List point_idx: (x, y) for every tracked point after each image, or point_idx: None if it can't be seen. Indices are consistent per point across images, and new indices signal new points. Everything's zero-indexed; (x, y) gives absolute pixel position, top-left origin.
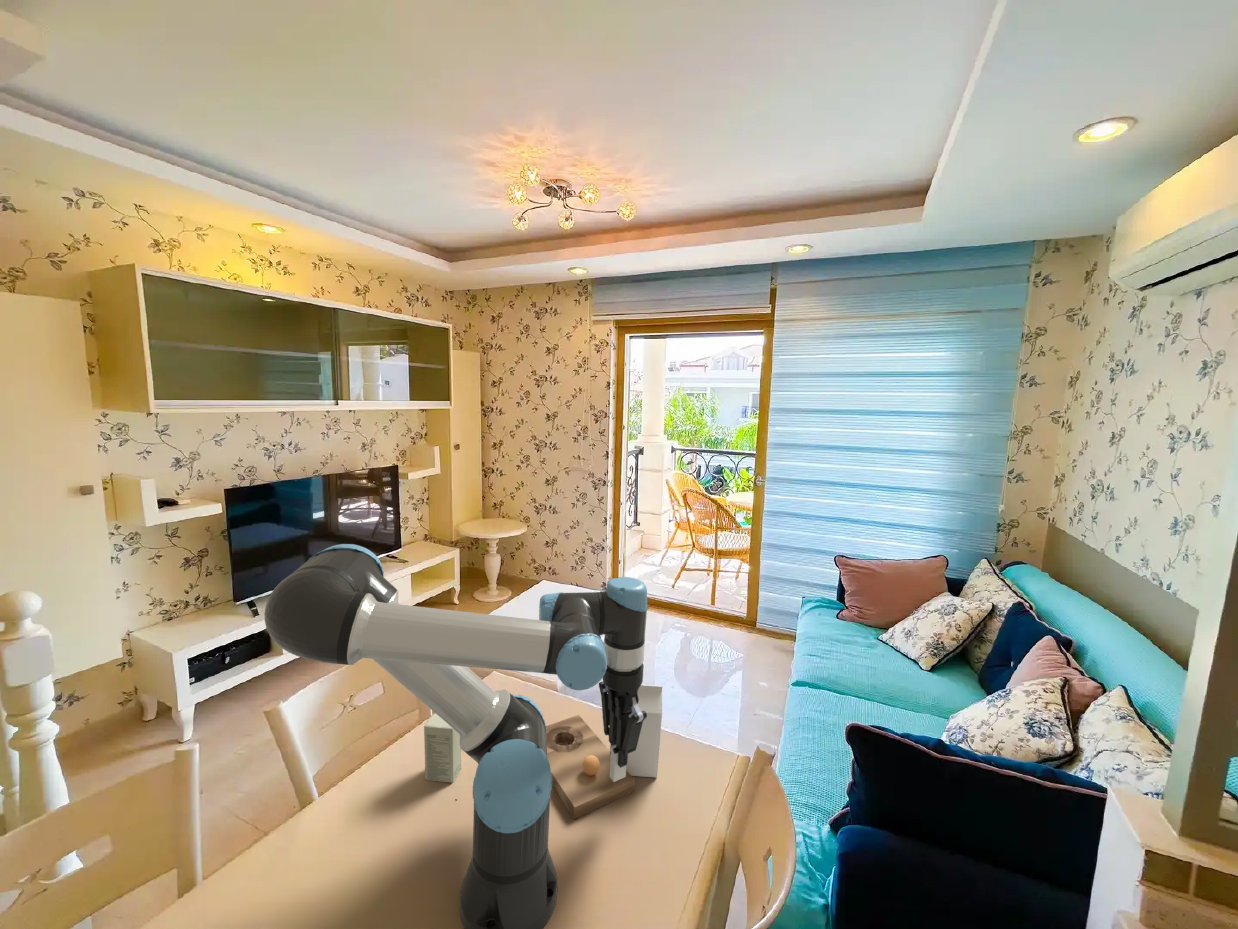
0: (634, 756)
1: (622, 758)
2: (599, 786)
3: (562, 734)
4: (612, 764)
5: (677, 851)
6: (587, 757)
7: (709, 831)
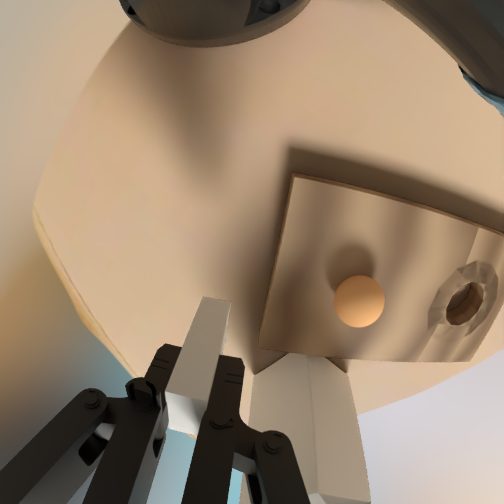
0: (291, 388)
1: (146, 377)
2: (303, 277)
3: (474, 309)
4: (205, 337)
5: (105, 286)
6: (377, 308)
7: (116, 347)
